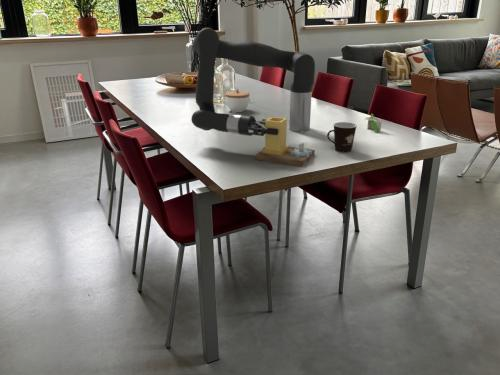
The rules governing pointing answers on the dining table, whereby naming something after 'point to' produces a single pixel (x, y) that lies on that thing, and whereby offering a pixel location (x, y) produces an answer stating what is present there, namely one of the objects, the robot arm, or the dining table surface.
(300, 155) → the gear
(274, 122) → the yellow hollow block
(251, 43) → the robot arm
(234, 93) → the lidded bowl
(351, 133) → the coffee mug
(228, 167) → the dining table surface
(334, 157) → the dining table surface
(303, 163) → the gear board
